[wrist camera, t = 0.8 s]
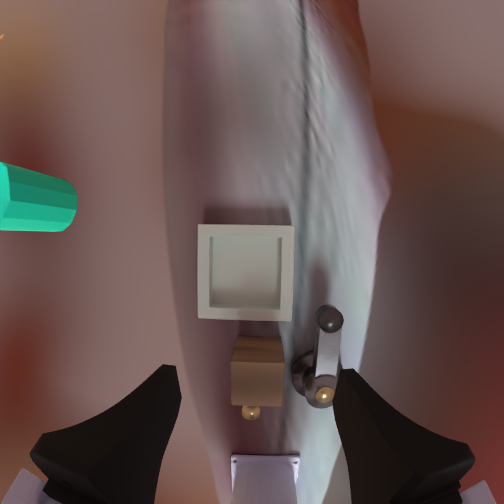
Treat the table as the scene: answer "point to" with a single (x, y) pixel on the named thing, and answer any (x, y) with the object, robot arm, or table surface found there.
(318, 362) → the crank
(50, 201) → the candle
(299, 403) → the table surface
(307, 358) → the crank base
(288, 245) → the tray
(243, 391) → the block
